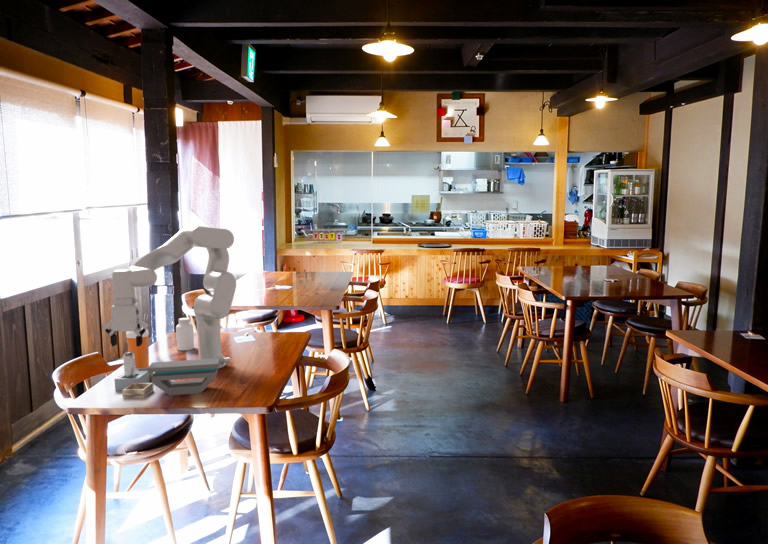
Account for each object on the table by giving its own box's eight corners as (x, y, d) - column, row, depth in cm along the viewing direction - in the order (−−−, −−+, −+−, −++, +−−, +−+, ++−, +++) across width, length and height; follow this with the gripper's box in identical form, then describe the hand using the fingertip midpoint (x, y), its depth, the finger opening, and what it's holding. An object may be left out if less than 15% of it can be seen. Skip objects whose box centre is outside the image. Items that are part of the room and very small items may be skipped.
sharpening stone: (149, 396, 218) (147, 368, 217) (154, 390, 226) (152, 362, 224) (219, 391, 222) (217, 363, 221) (221, 385, 230) (219, 358, 229)
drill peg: (138, 385, 231) (136, 351, 229) (134, 388, 227) (131, 354, 226) (128, 385, 231) (125, 351, 230) (123, 388, 227) (121, 354, 226)
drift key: (159, 378, 239) (159, 371, 239) (156, 381, 236) (155, 374, 235) (141, 378, 239) (141, 371, 239) (137, 381, 236) (137, 374, 235)
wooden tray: (153, 390, 225) (152, 382, 224) (144, 397, 217) (143, 389, 217) (132, 390, 225) (132, 383, 225) (122, 397, 217) (122, 389, 217)
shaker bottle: (129, 376, 244) (126, 328, 241) (127, 370, 252) (124, 324, 249) (152, 372, 248) (149, 326, 245) (150, 367, 256) (147, 322, 253)
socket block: (153, 378, 239) (152, 368, 239) (138, 390, 226) (137, 378, 225) (131, 378, 240) (131, 368, 239) (115, 390, 226) (114, 379, 225)
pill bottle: (197, 348, 287) (196, 317, 285) (184, 351, 281) (182, 321, 279) (187, 346, 292) (185, 316, 290) (173, 349, 285) (171, 319, 283)
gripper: (151, 300, 228) (153, 343, 230) (107, 300, 229) (109, 343, 231) (142, 303, 221) (144, 348, 223) (97, 303, 221) (99, 347, 223)
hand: (126, 345), depth 227 cm, fingers open, 9 cm apart
